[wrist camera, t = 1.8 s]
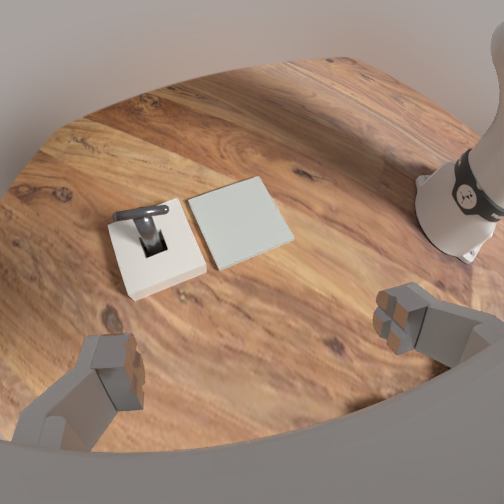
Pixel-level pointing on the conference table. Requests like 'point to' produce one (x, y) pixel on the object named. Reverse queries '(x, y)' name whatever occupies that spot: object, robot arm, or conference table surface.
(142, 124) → the conference table surface
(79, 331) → the conference table surface
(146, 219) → the chuck key
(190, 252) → the white square-hole block
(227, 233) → the rubber mat
